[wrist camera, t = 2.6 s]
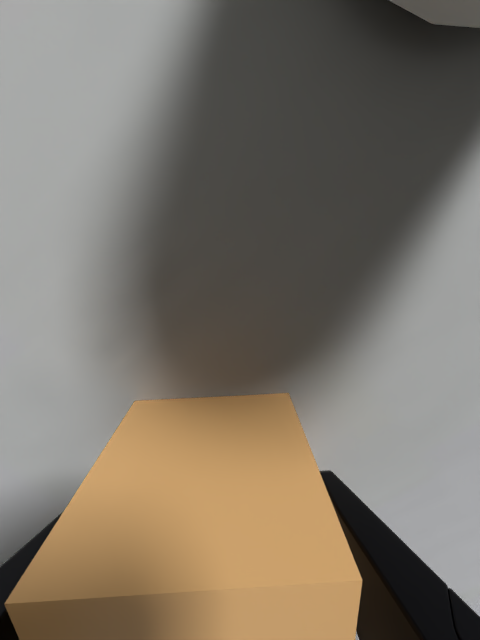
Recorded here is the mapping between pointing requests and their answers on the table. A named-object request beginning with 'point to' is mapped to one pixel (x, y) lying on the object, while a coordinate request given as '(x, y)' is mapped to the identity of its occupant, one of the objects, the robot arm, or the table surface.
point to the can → (444, 11)
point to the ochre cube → (196, 534)
